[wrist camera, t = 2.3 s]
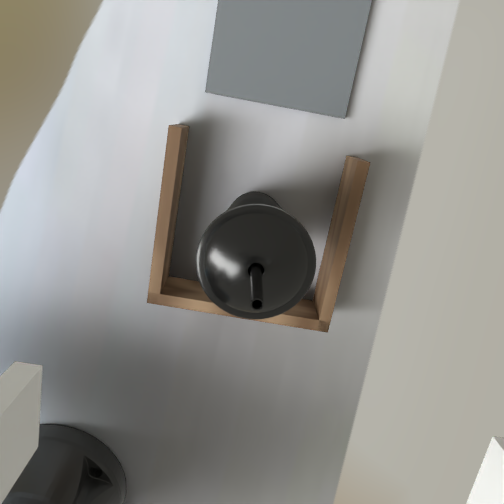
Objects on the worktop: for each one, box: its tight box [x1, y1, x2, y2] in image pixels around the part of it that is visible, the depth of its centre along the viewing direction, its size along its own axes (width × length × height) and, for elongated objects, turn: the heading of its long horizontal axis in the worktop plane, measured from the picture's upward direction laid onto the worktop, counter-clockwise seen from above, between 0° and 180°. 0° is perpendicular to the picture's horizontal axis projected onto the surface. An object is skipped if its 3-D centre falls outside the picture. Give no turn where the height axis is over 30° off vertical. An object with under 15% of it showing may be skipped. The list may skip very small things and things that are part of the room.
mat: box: [205, 0, 372, 119], centre depth 37 cm, size 12×12×1 cm
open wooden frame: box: [147, 124, 370, 332], centre depth 40 cm, size 16×15×4 cm
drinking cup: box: [196, 192, 316, 319], centre depth 32 cm, size 8×8×20 cm
